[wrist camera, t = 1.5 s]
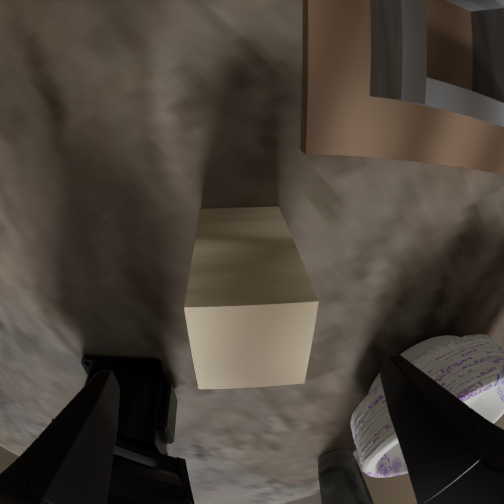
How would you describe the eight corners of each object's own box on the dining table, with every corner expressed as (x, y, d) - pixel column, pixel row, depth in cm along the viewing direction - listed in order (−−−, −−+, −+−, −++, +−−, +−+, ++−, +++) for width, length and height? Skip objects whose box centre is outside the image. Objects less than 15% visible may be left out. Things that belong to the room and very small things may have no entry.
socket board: (300, 150, 15) (324, 169, 11) (299, -88, 8) (318, -124, 5) (495, 170, 16) (535, 191, 12) (498, -16, 9) (537, -20, 6)
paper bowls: (323, 427, 28) (340, 494, 21) (372, 314, 21) (419, 403, 14) (439, 404, 29) (464, 455, 22) (502, 302, 22) (549, 357, 15)
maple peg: (206, 275, 18) (198, 389, 11) (201, 208, 16) (183, 307, 9) (276, 272, 18) (304, 383, 11) (278, 206, 16) (318, 301, 9)
